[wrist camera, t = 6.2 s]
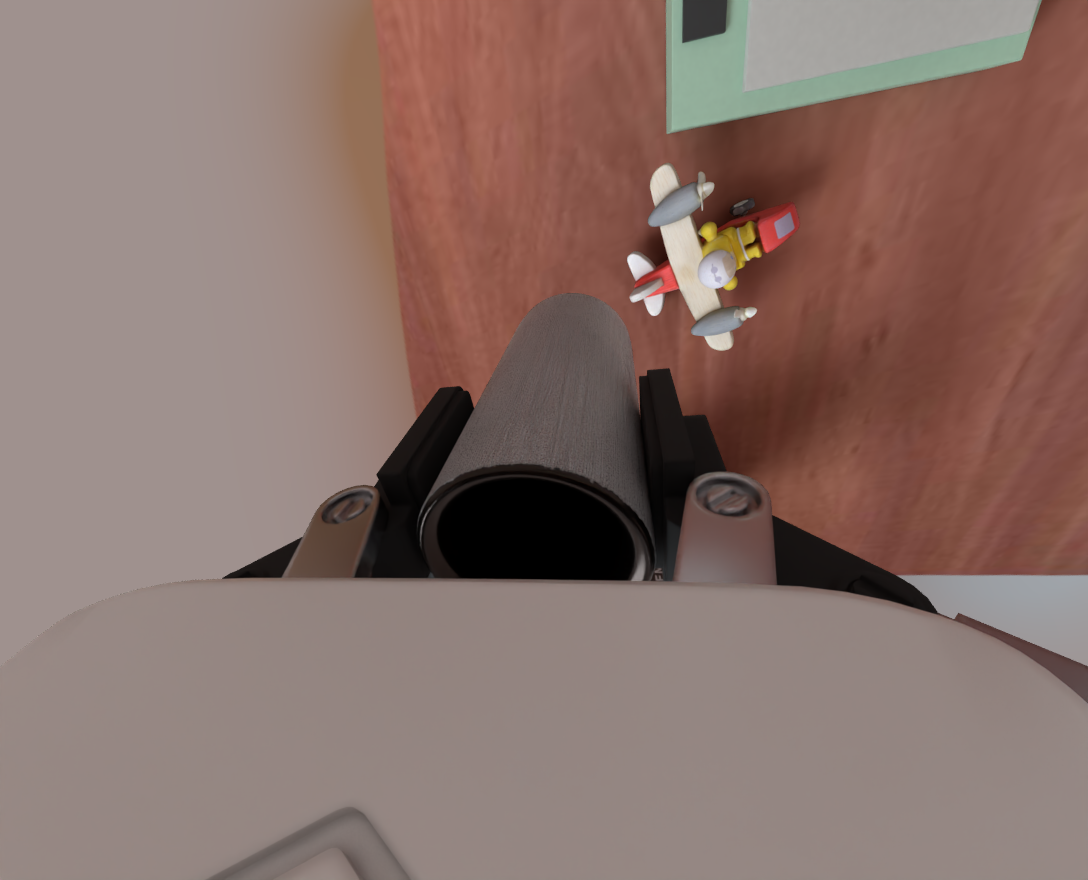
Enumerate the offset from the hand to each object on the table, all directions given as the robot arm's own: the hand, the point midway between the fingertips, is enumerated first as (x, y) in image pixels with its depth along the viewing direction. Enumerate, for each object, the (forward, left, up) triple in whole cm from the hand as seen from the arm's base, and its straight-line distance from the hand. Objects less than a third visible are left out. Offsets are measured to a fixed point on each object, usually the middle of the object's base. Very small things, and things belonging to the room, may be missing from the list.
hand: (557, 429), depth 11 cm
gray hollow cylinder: (0, 0, -6) cm, 6 cm away
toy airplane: (0, +7, -22) cm, 23 cm away
